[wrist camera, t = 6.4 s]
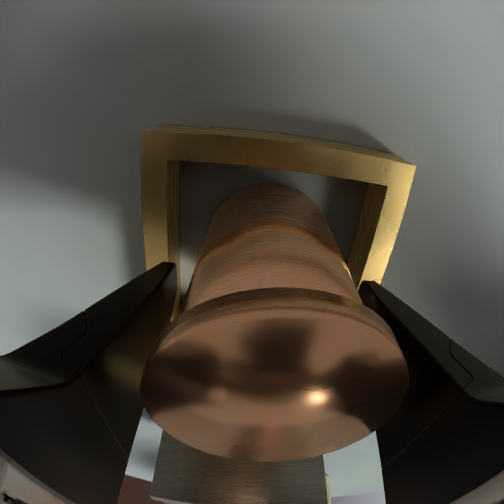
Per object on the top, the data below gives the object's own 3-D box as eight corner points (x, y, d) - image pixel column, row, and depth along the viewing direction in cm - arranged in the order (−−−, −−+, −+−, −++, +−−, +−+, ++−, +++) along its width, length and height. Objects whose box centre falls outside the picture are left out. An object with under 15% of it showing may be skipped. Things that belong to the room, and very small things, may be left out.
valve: (341, 331, 13) (383, 527, 5) (291, 441, 19) (296, 553, 11) (165, 316, 13) (107, 518, 5) (182, 433, 19) (165, 545, 11)
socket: (395, 154, 9) (415, 166, 8) (342, 331, 13) (349, 356, 12) (157, 125, 9) (140, 132, 8) (164, 315, 13) (155, 341, 12)
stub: (351, 185, 10) (457, 322, 4) (321, 303, 13) (353, 458, 7) (200, 167, 10) (115, 298, 4) (197, 292, 13) (159, 450, 6)
